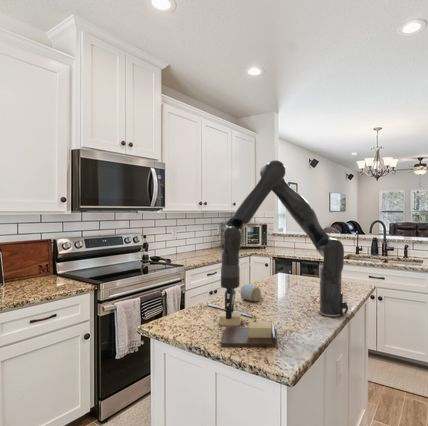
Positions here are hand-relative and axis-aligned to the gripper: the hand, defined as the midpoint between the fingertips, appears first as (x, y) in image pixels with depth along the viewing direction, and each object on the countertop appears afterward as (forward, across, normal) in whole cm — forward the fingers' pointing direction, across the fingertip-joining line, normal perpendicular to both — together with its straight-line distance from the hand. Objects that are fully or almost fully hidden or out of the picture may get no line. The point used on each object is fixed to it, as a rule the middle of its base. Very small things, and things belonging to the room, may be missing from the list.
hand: (229, 315), depth 121 cm
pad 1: (+3, 0, 0) cm, 3 cm away
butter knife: (+3, +15, +2) cm, 15 cm away
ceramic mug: (+3, +32, -8) cm, 33 cm away
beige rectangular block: (+2, -14, -12) cm, 19 cm away
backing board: (+3, -14, -8) cm, 17 cm away
